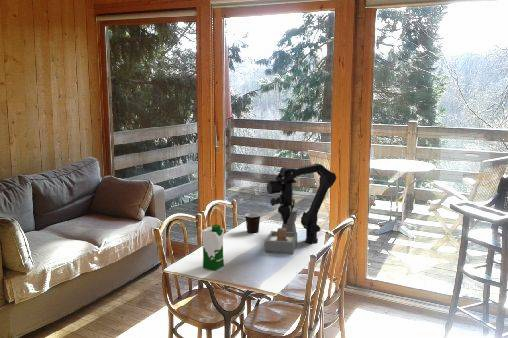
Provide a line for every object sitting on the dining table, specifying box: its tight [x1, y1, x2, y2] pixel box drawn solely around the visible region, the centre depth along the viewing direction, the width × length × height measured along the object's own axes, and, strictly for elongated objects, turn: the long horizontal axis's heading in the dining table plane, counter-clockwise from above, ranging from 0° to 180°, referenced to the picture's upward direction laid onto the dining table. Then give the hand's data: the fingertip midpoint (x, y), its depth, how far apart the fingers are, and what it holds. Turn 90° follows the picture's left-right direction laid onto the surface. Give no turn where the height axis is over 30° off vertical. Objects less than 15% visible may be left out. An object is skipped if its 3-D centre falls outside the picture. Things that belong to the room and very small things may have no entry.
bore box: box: [264, 230, 298, 255], centre depth 244 cm, size 16×14×6 cm
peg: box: [276, 227, 286, 241], centre depth 243 cm, size 4×4×9 cm
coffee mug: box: [244, 212, 261, 235], centre depth 268 cm, size 12×9×10 cm
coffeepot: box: [280, 207, 298, 233], centre depth 263 cm, size 15×9×18 cm, turn 29°
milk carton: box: [200, 224, 225, 272], centre depth 219 cm, size 9×9×20 cm
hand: (286, 221), depth 245 cm, fingers open, 9 cm apart
